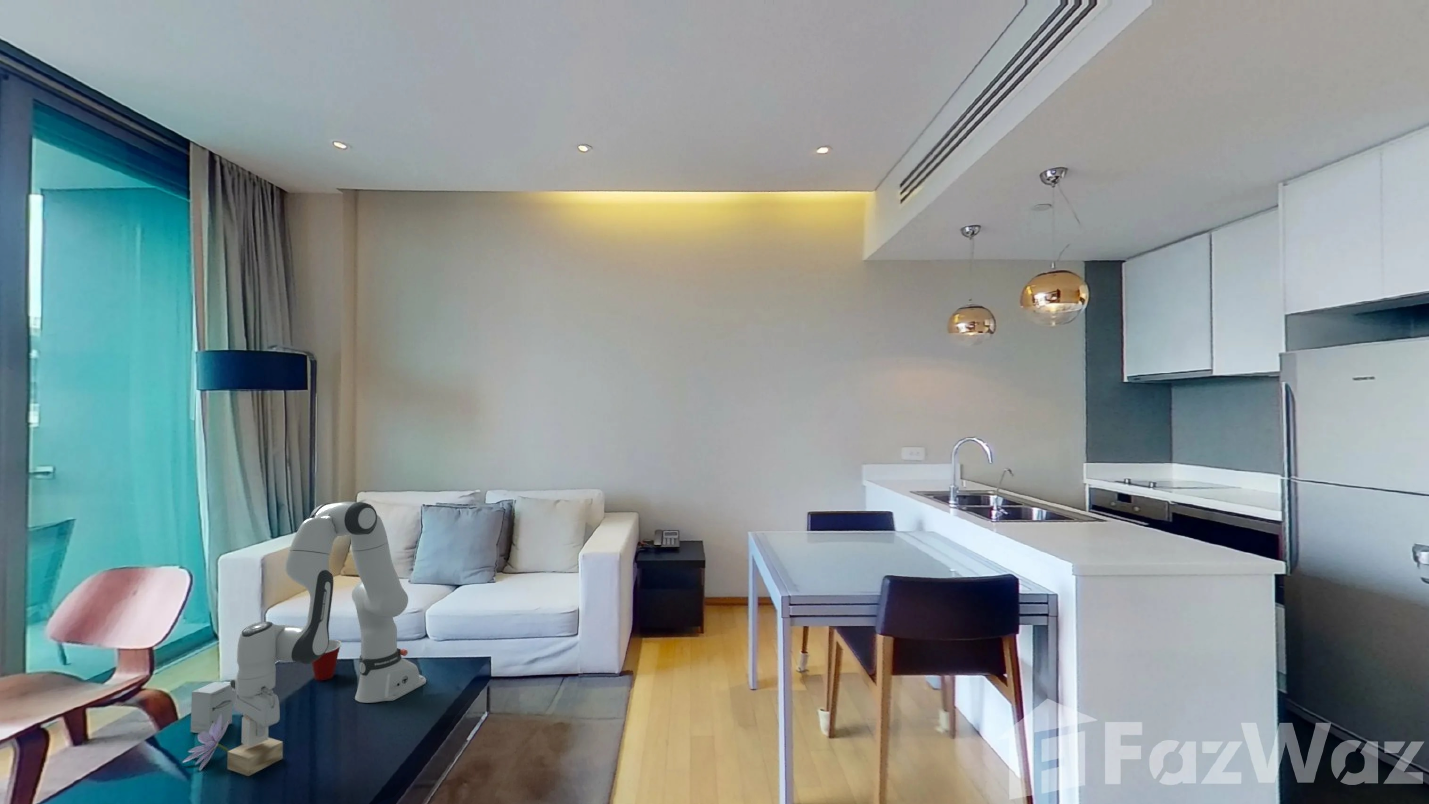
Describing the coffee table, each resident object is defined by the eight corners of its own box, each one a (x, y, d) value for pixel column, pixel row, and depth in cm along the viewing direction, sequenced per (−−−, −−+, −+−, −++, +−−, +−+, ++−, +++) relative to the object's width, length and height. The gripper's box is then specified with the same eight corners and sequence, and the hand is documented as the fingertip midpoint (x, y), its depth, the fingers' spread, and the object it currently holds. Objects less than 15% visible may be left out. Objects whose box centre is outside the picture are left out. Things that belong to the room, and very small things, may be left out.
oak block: (261, 752, 176) (262, 735, 176) (282, 759, 173) (282, 741, 173) (227, 769, 168) (227, 751, 168) (248, 776, 165) (248, 758, 165)
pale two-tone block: (260, 735, 174) (261, 708, 174) (268, 739, 171) (268, 712, 171) (241, 742, 170) (242, 715, 170) (249, 747, 167) (249, 719, 167)
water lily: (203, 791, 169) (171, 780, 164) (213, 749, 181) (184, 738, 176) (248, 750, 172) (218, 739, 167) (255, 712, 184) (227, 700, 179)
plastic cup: (303, 685, 219) (303, 652, 219) (311, 673, 229) (311, 641, 229) (338, 681, 222) (338, 648, 223) (344, 669, 233) (344, 638, 233)
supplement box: (209, 735, 185) (210, 693, 185) (189, 732, 187) (190, 691, 187) (233, 723, 193) (233, 682, 193) (214, 720, 194) (214, 680, 194)
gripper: (287, 687, 168) (286, 737, 168) (252, 671, 179) (251, 718, 178) (260, 696, 163) (259, 748, 163) (226, 679, 173) (226, 727, 173)
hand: (255, 732), depth 171 cm, fingers closed on pale two-tone block, 5 cm apart
